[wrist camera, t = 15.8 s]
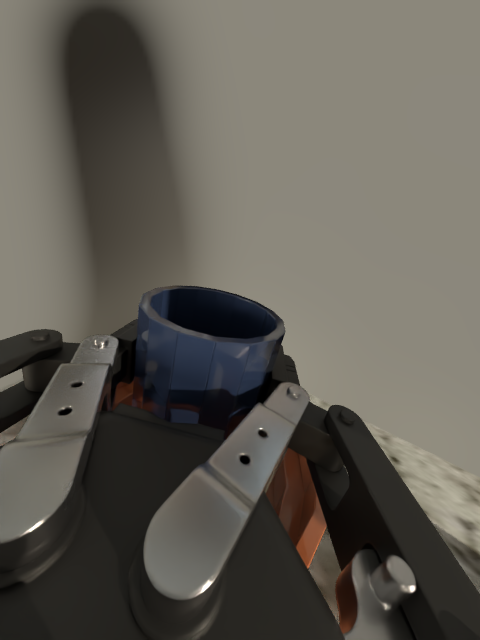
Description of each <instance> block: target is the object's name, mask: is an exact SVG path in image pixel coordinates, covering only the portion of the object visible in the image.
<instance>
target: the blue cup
mask: <svg viewBox="0 0 480 640" xmlns="http://www.w3.org/2000/svg"><path fill="white" fill-rule="evenodd" d="M284 335H285V327H284V322H283V320H282V319H281V318H280V317H279V316H278V315H276V314H275V313H274V312H273V311H272V310H270V309H268V308H267V307H265V306H263V305H261V304H260V303H258V302H255V301H253V300H250V299H248V298H245V297H242V296H239V295H237V294H233V293H229V292H225V291H221V290H217V289H211V288H204V287H197V286H168V287H160V288H155V289H153V290H151V291H149V292H146V293H144V294H143V295H142V297H141V300H140V303H139V310H138V325H137V340H136V354H135V369H134V384H133V398H132V406H134V407H138V408H141V409H145V410H147V411H149V412H151V413H153V414H155V415H156V416H158V417H160V418H162V419H164V420H166V421H168V422H171V423H191V424H202V425H205V426H209V427H213V428H217V429H221V430H224V431H225V434H224V439H223V440H226V439H227V438H228V437H229V435H230V434H231V433H232V432H233V431H234V430H235V429H236V427H237V426H238V425H239V424H240V423H241V422H242V421H243V419H244V418H245V417H246V416H247V415H248V414H249V413H250V411H251V410H252V409H253V408H254V407H255V406H256V405H257V403H259V402H260V403H261V401H262V398H263V395H264V392H265V389H266V387H267V384H268V381H269V378H270V375H271V372H272V370H273V367H274V364H275V361H276V358H277V355H278V352H279V349H280V346H281V343H282V340H283V337H284Z"/></svg>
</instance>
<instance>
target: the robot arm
mask: <svg viewBox="0 0 480 640" xmlns="http://www.w3.org/2000/svg"><path fill="white" fill-rule="evenodd" d="M137 325H138V319H136V320H134V321H132V322H130V323H129V324H127V325H125V326H124V327H123V328H121V329H119V330H118V331H116V332H114V333H113V334H111V335H93V336H89V337H87V338H85V339H84V340H83V341H82V342H81V344H80V343H66V342H63V341H62V334H61V333H60V332H58V331H55V330H47V329H41V330H34V331H29V332H25V333H23V334H19V335H16V336H13V337H10V338H7V339H4V340H1V341H0V378H1V377H3V376H6V375H8V374H10V373H12V372H15V371H17V370H19V369H21V368H22V372H23V378H24V381H22V382H20V383H18V384H16V385H14V386H12V387H10V388H8V389H6V390H4V391H2V392H0V433H1V432H3V431H4V430H6V429H7V428H9V427H11V426H12V425H14V424H15V423H17V422H19V421H20V420H22V419H23V418H25V417H26V416H28V415H30V416H29V417H28V419H27V421H26V422H25V424H24V426H23V427H22V429H21V431H20V432H19V434H18V435H17V437H16V438H15V439H14V440H12V441H10V442H8V443H6V444H5V445H3V446H0V640H480V594H479V592H478V591H477V589H476V588H475V586H474V585H473V583H472V582H471V580H470V579H469V578H468V576H467V575H466V573H465V572H464V570H463V569H462V567H461V566H460V564H459V563H458V561H457V560H456V558H455V557H454V555H453V554H452V552H451V551H450V549H449V548H448V547H447V545H446V544H445V542H444V541H443V539H442V538H441V536H440V535H439V533H438V532H437V530H436V529H435V527H434V526H433V524H432V523H431V521H430V520H429V518H428V517H427V515H426V514H425V513H424V511H423V510H422V508H421V507H420V505H419V504H418V502H417V501H416V499H415V498H414V496H413V495H412V493H411V492H410V490H409V489H408V487H407V486H406V484H405V483H404V482H403V480H402V479H401V477H400V476H399V474H398V473H397V471H396V470H395V468H394V467H393V465H392V464H391V462H390V461H389V459H388V458H387V456H386V455H385V453H384V452H383V450H382V449H381V448H380V446H379V445H378V443H377V442H376V440H375V439H374V437H373V436H372V434H371V433H370V431H369V430H368V428H367V427H366V425H365V424H364V422H363V421H362V420H361V418H360V417H359V416H358V415H357V414H356V413H354V412H353V411H351V410H350V409H348V408H346V407H343V406H340V405H332V406H330V408H329V410H328V411H326V410H324V409H322V408H320V407H318V406H316V405H314V404H313V403H311V402H310V401H309V400H310V397H309V395H308V393H307V392H306V390H304V389H303V388H302V387H301V386H300V384H299V380H298V375H297V372H296V368H295V363H294V361H293V360H292V359H291V357H290V356H287V355H284V352H283V346H282V345H281V346H280V349H279V352H278V355H277V358H276V361H275V364H274V367H273V370H272V372H271V375H270V378H269V381H268V384H267V387H266V389H265V392H264V395H263V398H262V401H261V403H260V402H259V403H257V405H256V406H255V407H254V408H253V409H252V410H251V411H250V413H249V414H248V415H247V416H246V417H245V418H244V419H243V421H242V422H241V423H240V424H239V425H238V426H237V427H236V429H235V430H234V431H233V432H232V433H231V434H230V435H229V437H228V438H227V439H226V440H223V439H224V434H225V431H224V430H221V429H217V428H213V427H209V426H205V425H202V424H191V423H171V422H168V421H166V420H164V419H162V418H160V417H158V416H156V415H155V414H153V413H151V412H149V411H147V410H145V409H141V408H138V407H134V406H130V405H126V404H122V403H120V404H119V405H118V406H117V407H116V408H115V409H114V410H113V408H114V403H115V398H116V393H117V385H118V384H119V383H120V382H123V383H127V384H131V382H132V381H133V380H134V369H135V354H136V340H137ZM288 448H290V449H291V450H293V451H295V452H297V453H298V454H300V455H302V456H304V457H305V458H306V461H307V465H308V468H309V471H310V474H311V477H312V481H313V484H314V487H315V490H316V493H317V496H318V499H319V503H320V506H321V509H322V512H323V515H324V518H325V521H326V525H327V528H328V531H329V534H330V537H331V540H332V544H333V547H334V550H335V553H336V556H337V559H338V562H339V566H340V569H341V573H340V574H339V576H338V578H337V581H336V590H335V591H336V600H337V606H338V611H339V620H340V622H339V625H338V623H337V621H336V619H335V617H334V615H333V613H332V611H331V610H330V608H329V606H328V604H327V603H326V601H325V599H324V597H323V595H322V594H321V592H320V590H319V588H318V586H317V585H316V583H315V581H314V579H313V578H312V576H311V574H310V572H309V570H308V569H307V567H306V565H305V563H304V561H303V560H302V558H301V556H300V554H299V552H298V551H297V549H296V547H295V545H294V544H293V542H292V540H291V538H290V536H289V535H288V533H287V531H286V529H285V527H284V526H283V524H282V522H281V520H280V518H279V517H278V515H277V513H276V511H275V510H274V508H273V506H272V504H271V502H270V501H269V499H268V497H267V495H266V494H267V491H268V489H269V487H270V485H271V483H272V481H273V478H274V476H275V474H276V472H277V470H278V468H279V466H280V464H281V462H282V460H283V458H284V456H285V454H286V452H287V450H288ZM344 465H345V467H346V469H347V472H348V474H347V472H346V469H345V467H344ZM348 475H349V476H348Z"/></svg>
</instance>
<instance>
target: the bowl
mask: <svg viewBox="0 0 480 640" xmlns="http://www.w3.org/2000/svg"><path fill="white" fill-rule="evenodd" d="M133 384H134V380H133V381H132V382H131V384H127V383H123V382H120V383H119V384H118V385H117V393H116V398H115V403H114V408H113V410H114V409H115V408H116V407H117V406H118V405H119V404H120V403H122V404H126V405H130V406H132V398H133ZM266 495H267V497H268V499H269V501H270V502H271V504H272V506H273V508H274V510H275V511H276V513H277V515H278V517H279V518H280V520H281V522H282V524H283V526H284V527H285V529H286V531H287V533H288V535H289V536H290V538H291V540H292V542H293V544H294V545H295V547H296V549H297V551H298V552H299V554H300V556H301V558H302V560H303V561H304V563H305V565H306V567H307V569H308V568H309V566H310V563H311V561H312V559H313V557H314V554H315V552H316V550H317V547H318V545H319V543H320V541H321V538H322V536H323V534H324V531H325V529H326V527H327V525H326V521H325V518H324V515H323V512H322V509H321V506H320V503H319V499H318V496H317V493H316V490H315V487H314V484H313V481H312V477H311V474H310V471H309V468H308V465H307V461H306V458H305V457H304V456H302V455H300V454H298V453H297V452H295V451H293V450H291V449H290V448H288V450H287V452H286V454H285V456H284V458H283V460H282V462H281V464H280V466H279V468H278V470H277V472H276V474H275V476H274V478H273V481H272V483H271V485H270V487H269V489H268V491H267V494H266Z"/></svg>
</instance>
